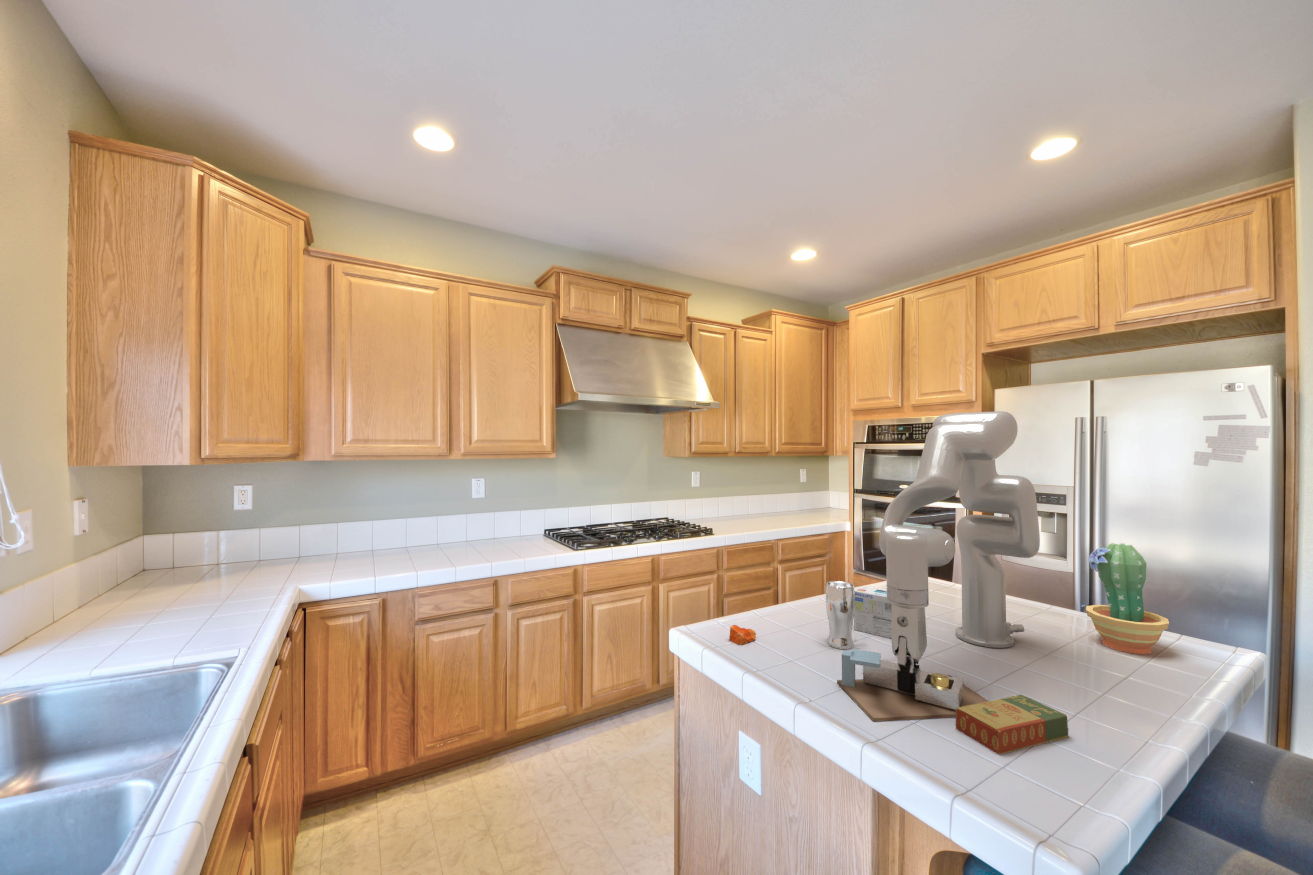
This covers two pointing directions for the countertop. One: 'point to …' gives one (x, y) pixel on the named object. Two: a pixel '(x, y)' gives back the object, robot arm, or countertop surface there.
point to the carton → (1011, 723)
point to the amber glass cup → (940, 680)
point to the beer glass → (840, 613)
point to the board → (901, 702)
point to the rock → (741, 635)
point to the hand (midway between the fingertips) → (908, 686)
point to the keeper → (857, 663)
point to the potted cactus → (1124, 601)
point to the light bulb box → (873, 612)
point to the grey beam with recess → (917, 684)
